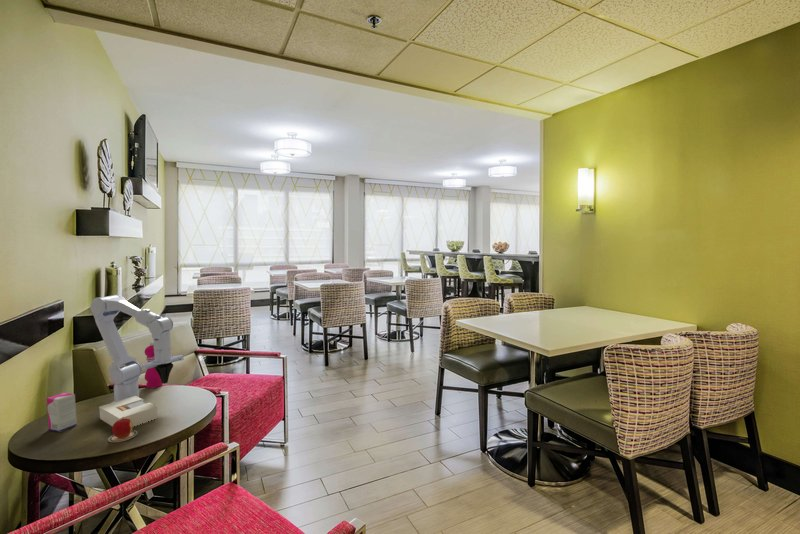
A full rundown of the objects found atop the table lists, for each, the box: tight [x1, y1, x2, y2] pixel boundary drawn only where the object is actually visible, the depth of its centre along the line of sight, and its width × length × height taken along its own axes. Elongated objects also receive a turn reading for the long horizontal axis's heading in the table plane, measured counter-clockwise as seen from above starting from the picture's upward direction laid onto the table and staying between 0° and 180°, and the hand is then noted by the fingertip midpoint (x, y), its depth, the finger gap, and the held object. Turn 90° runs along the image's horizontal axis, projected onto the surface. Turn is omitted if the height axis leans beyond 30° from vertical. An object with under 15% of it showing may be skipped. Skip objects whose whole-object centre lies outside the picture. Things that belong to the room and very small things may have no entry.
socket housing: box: [98, 396, 159, 428], centre depth 147 cm, size 18×12×5 cm, turn 55°
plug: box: [126, 401, 147, 409], centre depth 148 cm, size 4×6×4 cm
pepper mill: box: [144, 341, 164, 389], centre depth 179 cm, size 7×7×20 cm
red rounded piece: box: [107, 417, 138, 443], centre depth 133 cm, size 8×8×6 cm
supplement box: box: [46, 392, 78, 433], centre depth 140 cm, size 6×6×12 cm
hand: (164, 382), depth 157 cm, fingers closed
